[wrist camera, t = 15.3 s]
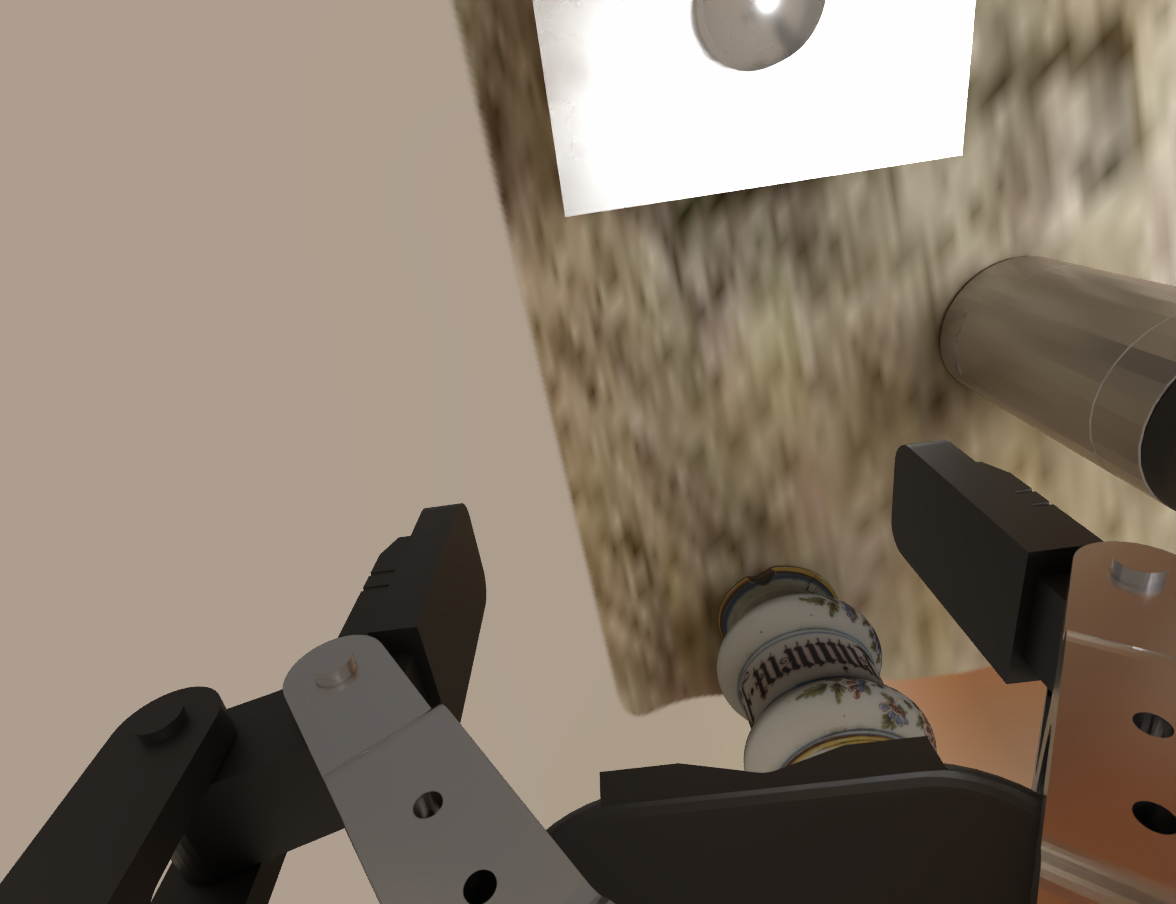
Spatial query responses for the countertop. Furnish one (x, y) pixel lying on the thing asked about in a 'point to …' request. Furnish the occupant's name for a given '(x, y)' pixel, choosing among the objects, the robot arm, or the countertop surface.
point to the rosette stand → (746, 92)
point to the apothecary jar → (805, 671)
